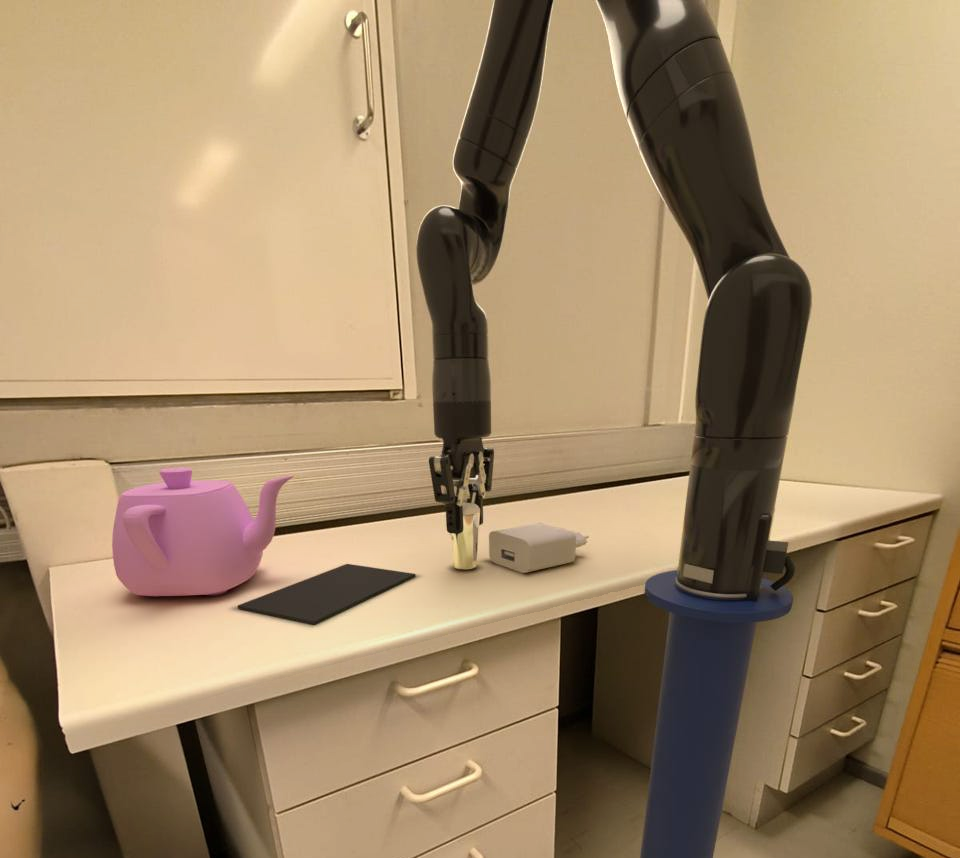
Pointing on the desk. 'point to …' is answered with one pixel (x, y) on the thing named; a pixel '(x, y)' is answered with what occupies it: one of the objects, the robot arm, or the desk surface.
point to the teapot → (190, 535)
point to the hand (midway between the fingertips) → (465, 528)
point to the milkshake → (467, 537)
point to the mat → (326, 593)
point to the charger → (534, 547)
